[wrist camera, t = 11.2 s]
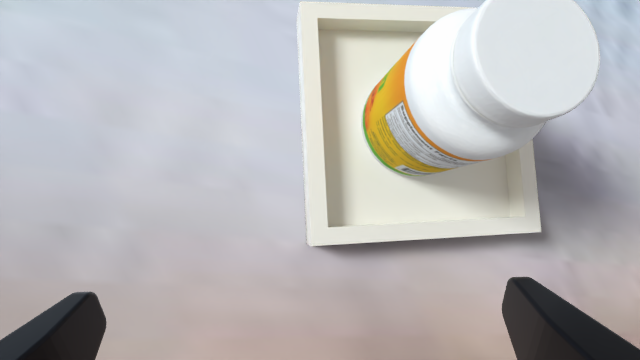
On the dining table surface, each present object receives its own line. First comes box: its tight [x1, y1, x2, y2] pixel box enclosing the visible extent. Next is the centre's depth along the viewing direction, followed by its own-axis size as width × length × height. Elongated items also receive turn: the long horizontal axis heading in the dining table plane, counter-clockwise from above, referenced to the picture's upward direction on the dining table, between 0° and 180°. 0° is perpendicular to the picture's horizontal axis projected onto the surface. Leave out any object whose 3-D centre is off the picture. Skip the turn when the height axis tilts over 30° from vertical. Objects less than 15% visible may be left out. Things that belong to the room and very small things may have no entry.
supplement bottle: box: [361, 0, 600, 177], centre depth 16 cm, size 5×5×10 cm
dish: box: [296, 1, 541, 246], centre depth 21 cm, size 12×12×2 cm
